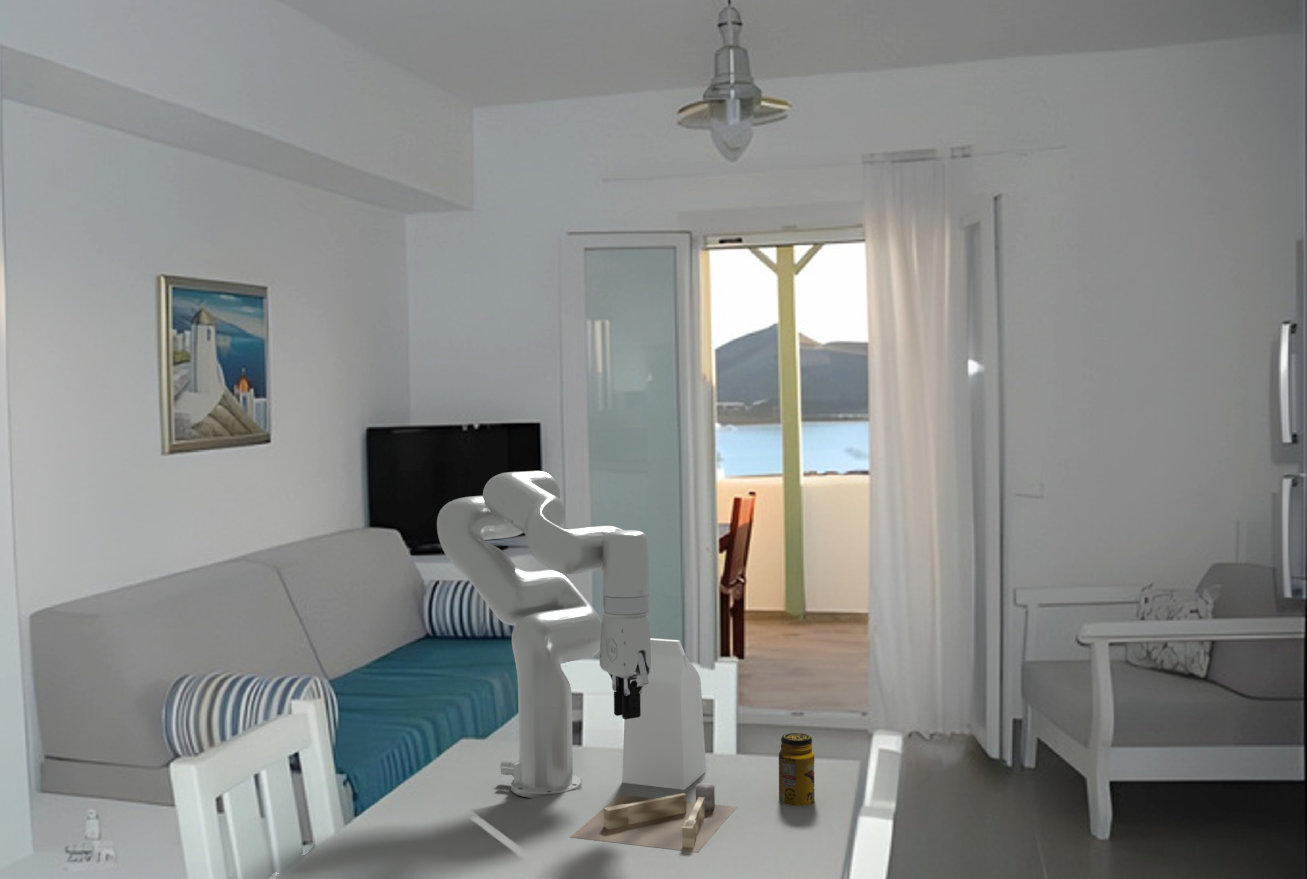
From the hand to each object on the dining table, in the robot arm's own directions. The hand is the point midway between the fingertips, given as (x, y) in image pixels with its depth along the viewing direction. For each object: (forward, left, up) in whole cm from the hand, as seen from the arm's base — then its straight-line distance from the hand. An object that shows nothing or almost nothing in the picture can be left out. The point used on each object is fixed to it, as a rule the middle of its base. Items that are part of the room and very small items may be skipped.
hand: (627, 715), depth 205 cm
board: (+6, -3, -17) cm, 18 cm away
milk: (0, +20, -17) cm, 27 cm away
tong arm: (+4, -3, -16) cm, 17 cm away
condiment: (+25, +14, -17) cm, 33 cm away
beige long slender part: (+13, -2, -16) cm, 21 cm away
